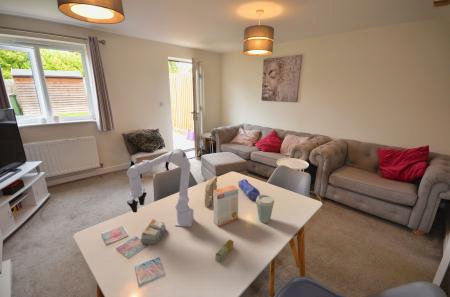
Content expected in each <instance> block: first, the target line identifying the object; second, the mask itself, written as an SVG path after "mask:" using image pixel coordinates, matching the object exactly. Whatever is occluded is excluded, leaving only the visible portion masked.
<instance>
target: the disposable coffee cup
mask: <svg viewBox="0 0 450 297" xmlns="http://www.w3.org/2000/svg"><path fill="white" fill-rule="evenodd" d="M255 202H256V207H257V208H256V209H257V216H258V221H259V222H260V223H263V224H268V223H269V222H270V221H271V217H272V213H273V209H274V204H275V200H274V198H273V197H272V196H271V195H268V194H261V193H260V195H259V196H258V197H257V199H256V200H255Z"/></svg>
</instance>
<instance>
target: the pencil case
mask: <svg viewBox="0 0 450 297" xmlns="http://www.w3.org/2000/svg"><path fill="white" fill-rule="evenodd" d="M238 187H239V189H240V190H241V191H242V192H243V193H244V194H245V196H246V197H248V199H250V201H256V199H257V197H258V196H259V195H261V193H260V190H259V189H258V188H257V187H255V186H254V185H252V184H251V183H250V182H249V181H248V180H247V179H246V178H244V179H241V180H238Z"/></svg>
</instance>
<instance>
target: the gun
mask: <svg viewBox="0 0 450 297" xmlns="http://www.w3.org/2000/svg"><path fill="white" fill-rule="evenodd" d="M217 182H218V176H216V175H214V176H213V177H211V179H210V180H209V181H208V182H206V184H205V190H204V192H205V194H204V207H207V208H209V207H210V205H211V203H212V201H211V200H213V190H217V189H218V185H217Z"/></svg>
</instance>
